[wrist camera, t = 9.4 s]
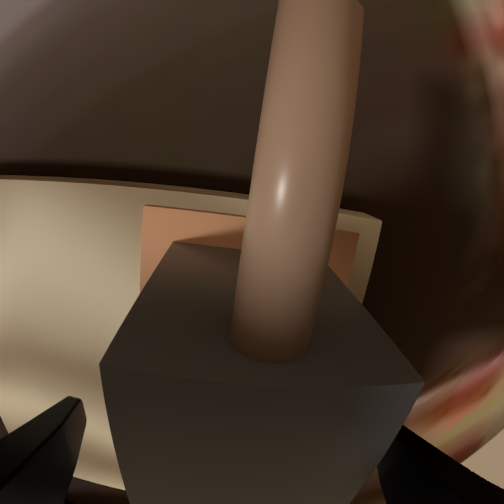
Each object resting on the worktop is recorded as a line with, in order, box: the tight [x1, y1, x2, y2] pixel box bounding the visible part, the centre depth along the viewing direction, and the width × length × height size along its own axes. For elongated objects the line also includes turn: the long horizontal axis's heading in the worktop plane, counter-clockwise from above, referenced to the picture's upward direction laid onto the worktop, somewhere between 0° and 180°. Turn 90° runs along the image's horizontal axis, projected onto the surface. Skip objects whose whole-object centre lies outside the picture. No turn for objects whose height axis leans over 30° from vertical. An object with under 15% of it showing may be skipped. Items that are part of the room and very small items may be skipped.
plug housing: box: [99, 0, 425, 504], centre depth 7 cm, size 14×4×6 cm, turn 172°
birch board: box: [0, 175, 382, 490], centre depth 12 cm, size 16×16×2 cm
